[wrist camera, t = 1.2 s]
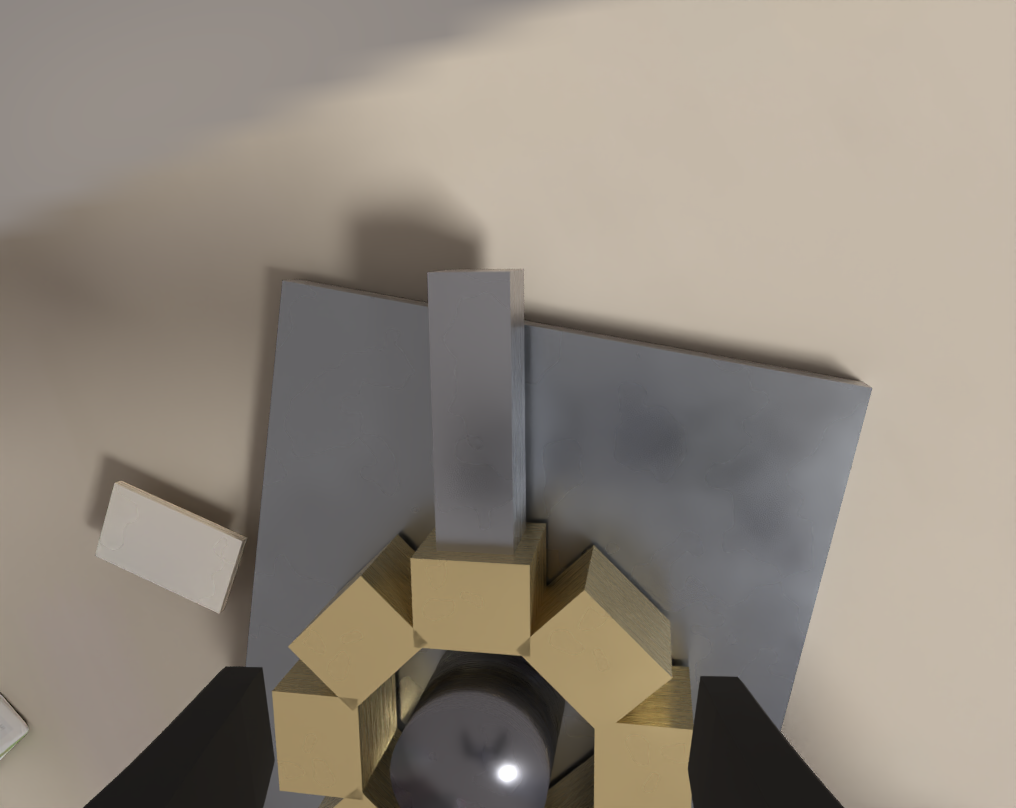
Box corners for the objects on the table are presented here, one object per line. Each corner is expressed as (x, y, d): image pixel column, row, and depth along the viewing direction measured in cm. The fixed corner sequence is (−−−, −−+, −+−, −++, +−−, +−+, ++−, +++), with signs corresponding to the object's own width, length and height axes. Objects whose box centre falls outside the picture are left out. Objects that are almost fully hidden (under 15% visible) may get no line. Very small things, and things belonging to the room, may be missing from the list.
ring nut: (681, 884, 24) (685, 973, 21) (330, 839, 26) (289, 915, 23) (702, 267, 20) (710, 270, 17) (294, 270, 22) (239, 274, 19)
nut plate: (862, 381, 21) (923, 422, 16) (689, 1035, 26) (696, 1216, 21) (137, 249, 24) (8, 251, 19) (104, 858, 29) (-6, 980, 24)
